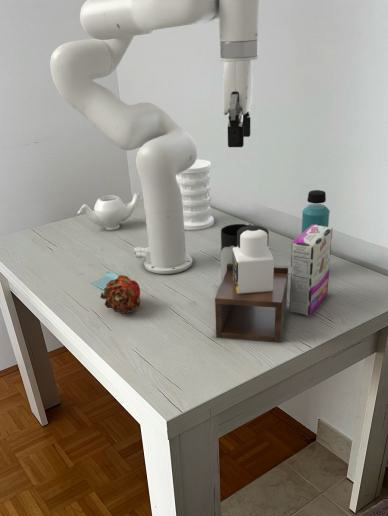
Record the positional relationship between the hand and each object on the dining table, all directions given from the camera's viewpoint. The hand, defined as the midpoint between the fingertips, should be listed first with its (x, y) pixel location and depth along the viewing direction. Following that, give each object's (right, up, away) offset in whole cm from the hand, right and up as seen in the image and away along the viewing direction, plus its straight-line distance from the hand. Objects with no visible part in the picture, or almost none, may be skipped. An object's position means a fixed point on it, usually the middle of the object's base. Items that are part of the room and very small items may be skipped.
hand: (239, 141), depth 117 cm
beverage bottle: (+20, -26, +19) cm, 37 cm away
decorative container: (-9, -6, +52) cm, 53 cm away
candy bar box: (+16, -35, +5) cm, 38 cm away
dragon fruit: (-26, -35, +7) cm, 44 cm away
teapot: (-35, -7, +52) cm, 64 cm away
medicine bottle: (+2, -32, -6) cm, 32 cm away
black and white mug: (+2, -30, +14) cm, 33 cm away
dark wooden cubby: (+3, -39, -1) cm, 39 cm away
